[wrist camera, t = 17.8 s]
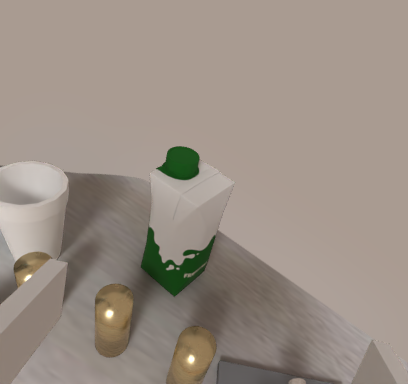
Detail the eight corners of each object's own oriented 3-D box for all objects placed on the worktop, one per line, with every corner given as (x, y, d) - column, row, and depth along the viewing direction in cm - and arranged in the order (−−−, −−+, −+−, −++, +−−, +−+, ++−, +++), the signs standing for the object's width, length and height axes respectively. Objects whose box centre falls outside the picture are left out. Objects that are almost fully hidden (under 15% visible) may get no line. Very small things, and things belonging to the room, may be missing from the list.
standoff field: (-14, 284, 45) (-29, 237, 40) (205, 329, 46) (220, 289, 41) (-81, 375, 36) (-113, 330, 30) (195, 429, 37) (212, 395, 31)
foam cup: (85, 248, 53) (84, 181, 45) (35, 289, 46) (23, 220, 38) (39, 220, 55) (30, 152, 47) (-15, 256, 48) (-36, 183, 40)
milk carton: (171, 239, 58) (192, 136, 45) (213, 271, 54) (247, 169, 42) (131, 267, 52) (143, 157, 39) (175, 306, 48) (202, 198, 36)
